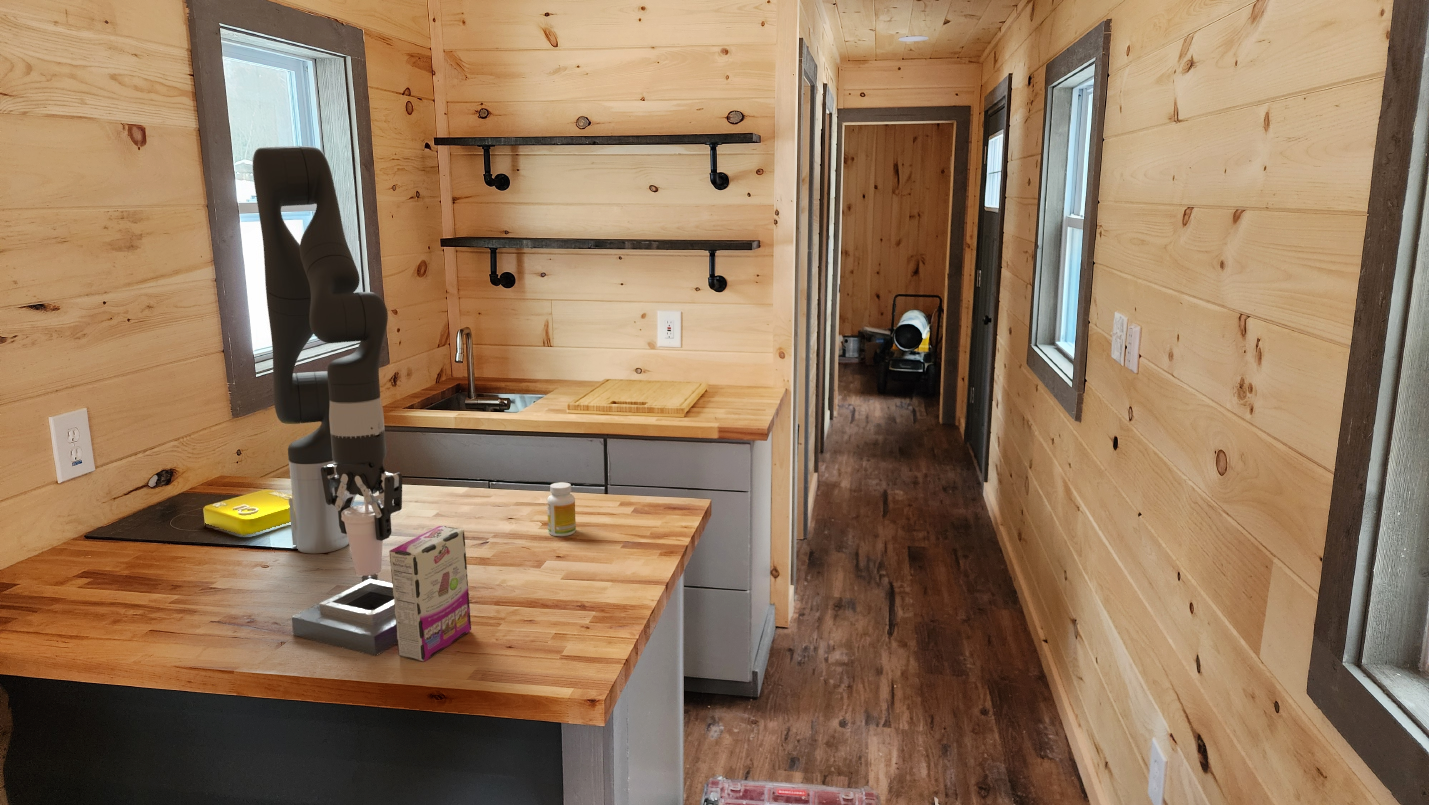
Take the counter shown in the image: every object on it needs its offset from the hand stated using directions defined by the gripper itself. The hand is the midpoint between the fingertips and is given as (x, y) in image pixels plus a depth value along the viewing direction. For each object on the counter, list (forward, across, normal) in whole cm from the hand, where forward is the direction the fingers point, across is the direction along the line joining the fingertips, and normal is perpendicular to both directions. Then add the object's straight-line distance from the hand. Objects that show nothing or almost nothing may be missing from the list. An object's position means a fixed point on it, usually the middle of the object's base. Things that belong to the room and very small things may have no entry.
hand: (365, 535), depth 143 cm
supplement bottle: (+14, +4, +47) cm, 49 cm away
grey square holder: (+14, 0, 0) cm, 14 cm away
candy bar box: (+15, +13, -1) cm, 20 cm away
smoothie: (+6, 0, 0) cm, 6 cm away
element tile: (+15, -56, +27) cm, 64 cm away
